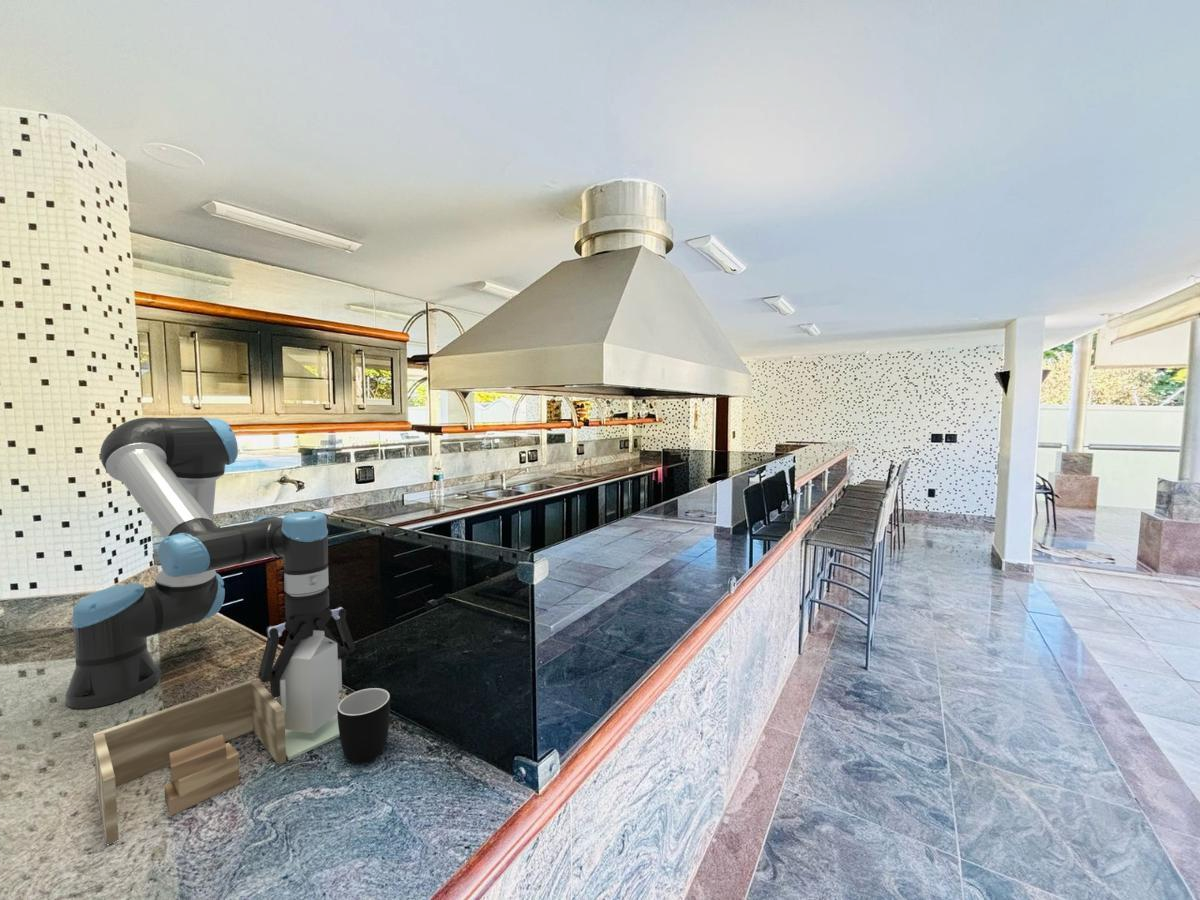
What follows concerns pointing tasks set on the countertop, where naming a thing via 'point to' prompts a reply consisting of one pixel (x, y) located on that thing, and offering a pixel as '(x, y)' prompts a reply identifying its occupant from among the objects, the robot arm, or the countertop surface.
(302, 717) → the milk carton
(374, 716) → the mug
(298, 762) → the countertop surface
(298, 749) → the mat
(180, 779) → the offcut stack
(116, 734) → the frame
